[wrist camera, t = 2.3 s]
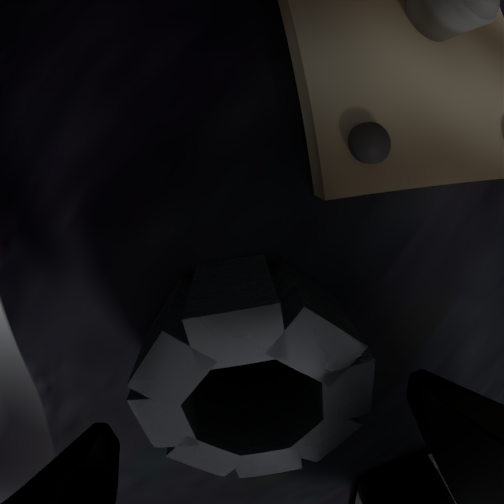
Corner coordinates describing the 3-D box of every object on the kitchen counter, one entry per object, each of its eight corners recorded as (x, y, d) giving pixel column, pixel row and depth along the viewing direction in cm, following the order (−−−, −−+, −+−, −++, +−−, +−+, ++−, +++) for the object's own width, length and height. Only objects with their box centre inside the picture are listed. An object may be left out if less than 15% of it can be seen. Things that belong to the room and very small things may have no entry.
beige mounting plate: (514, 172, 10) (590, 189, 6) (314, 195, 10) (378, 227, 5) (453, -54, 6) (505, -86, 2) (252, -88, 6) (262, -162, 2)
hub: (338, 391, 12) (365, 452, 9) (184, 416, 12) (177, 482, 9) (331, 241, 10) (377, 281, 7) (132, 277, 10) (94, 331, 7)
